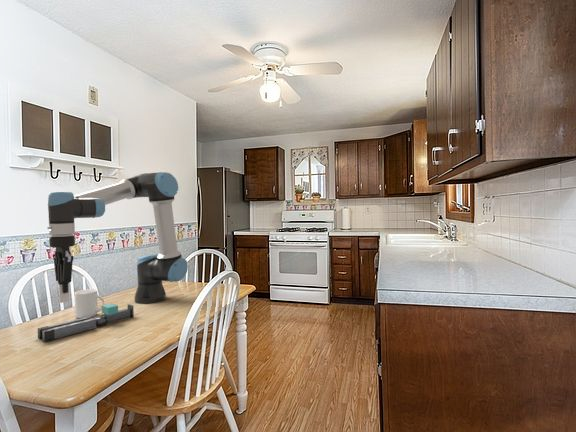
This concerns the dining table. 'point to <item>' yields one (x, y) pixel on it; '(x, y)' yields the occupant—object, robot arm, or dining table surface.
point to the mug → (87, 303)
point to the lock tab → (109, 309)
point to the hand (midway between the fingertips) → (64, 301)
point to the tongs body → (97, 319)
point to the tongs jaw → (68, 329)
